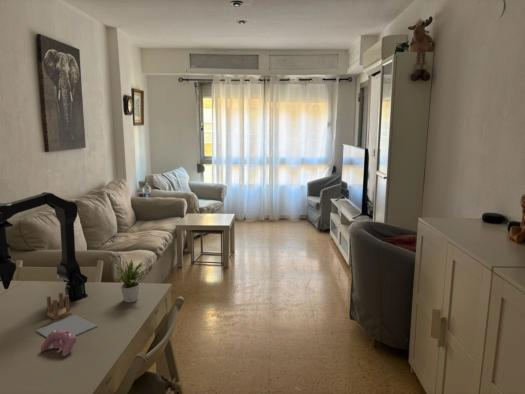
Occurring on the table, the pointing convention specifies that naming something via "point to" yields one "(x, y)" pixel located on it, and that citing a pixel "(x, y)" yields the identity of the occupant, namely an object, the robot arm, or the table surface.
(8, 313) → the table surface
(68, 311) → the stool
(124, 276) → the house plant
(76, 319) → the mat
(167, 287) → the table surface
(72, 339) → the video game controller
